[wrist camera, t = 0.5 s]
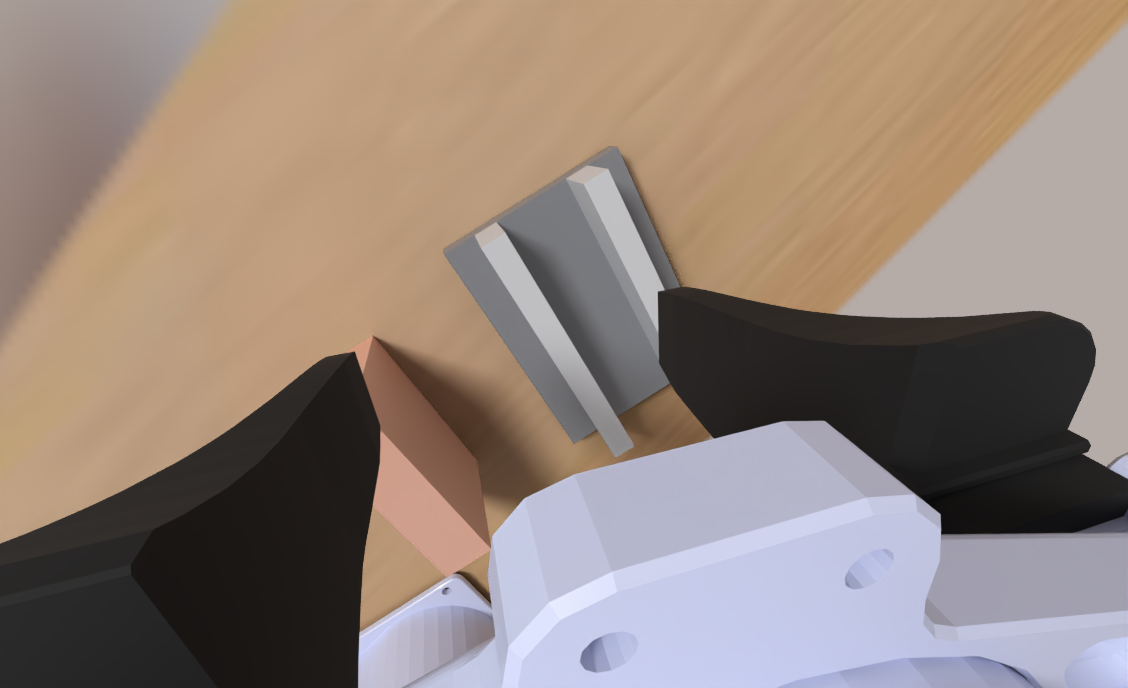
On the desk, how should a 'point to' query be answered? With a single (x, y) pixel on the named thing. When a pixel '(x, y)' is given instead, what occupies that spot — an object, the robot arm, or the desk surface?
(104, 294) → the desk surface
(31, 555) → the robot arm
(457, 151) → the desk surface
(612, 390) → the grey slotted holder
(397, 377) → the tall salmon pink block
